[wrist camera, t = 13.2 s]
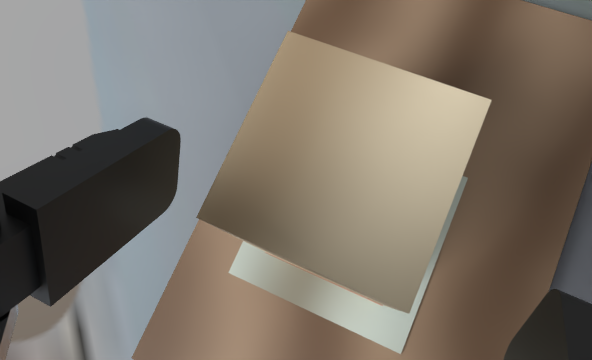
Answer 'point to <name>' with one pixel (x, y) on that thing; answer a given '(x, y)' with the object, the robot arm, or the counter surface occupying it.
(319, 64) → the maple link block
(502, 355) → the seat board
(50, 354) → the counter surface
